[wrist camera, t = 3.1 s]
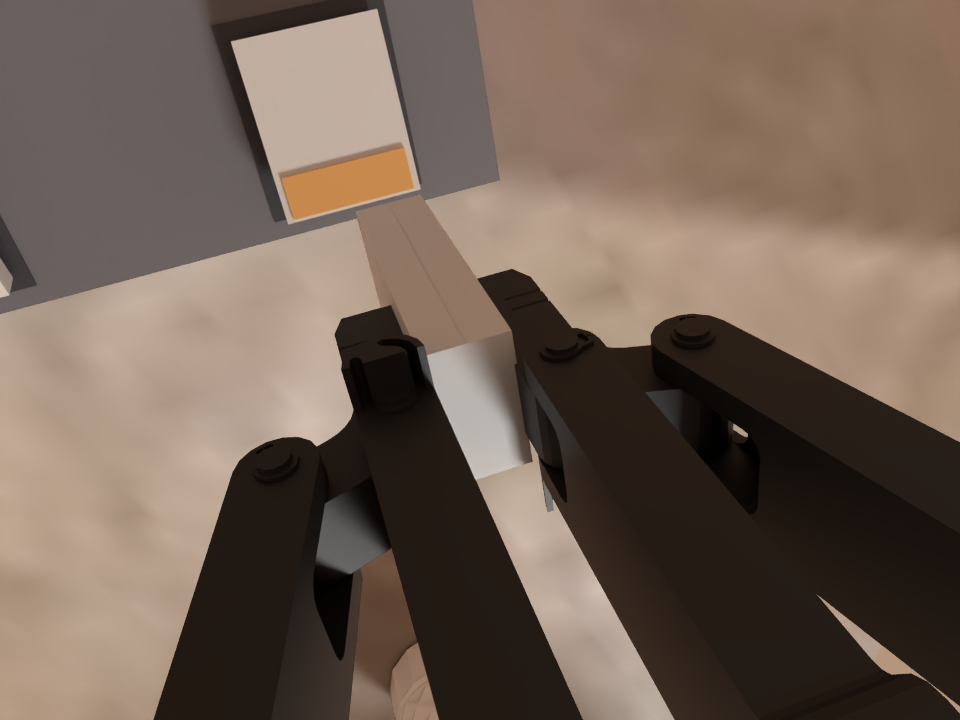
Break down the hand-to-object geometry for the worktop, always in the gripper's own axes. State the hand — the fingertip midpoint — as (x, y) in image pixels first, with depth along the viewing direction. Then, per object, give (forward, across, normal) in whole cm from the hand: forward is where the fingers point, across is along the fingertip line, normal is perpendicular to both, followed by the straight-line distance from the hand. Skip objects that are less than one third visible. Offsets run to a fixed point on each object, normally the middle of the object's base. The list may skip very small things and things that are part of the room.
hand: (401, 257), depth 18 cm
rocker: (+7, 0, +2) cm, 7 cm away
